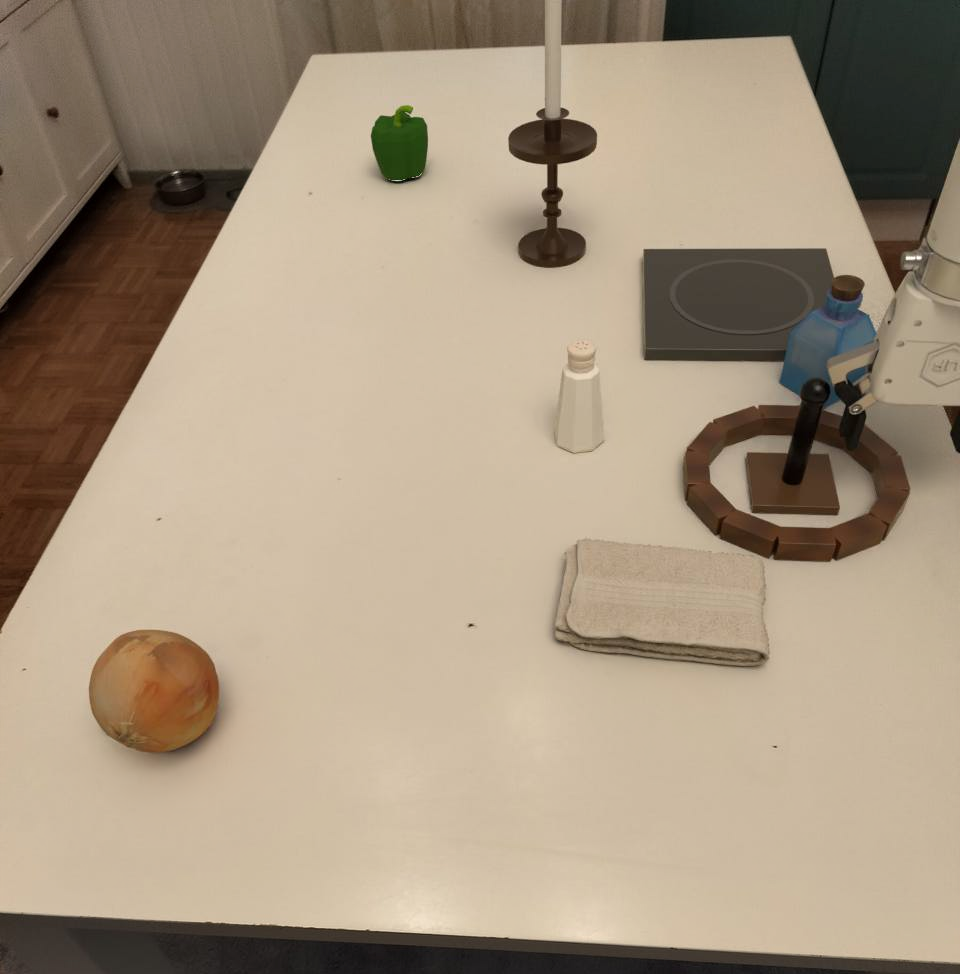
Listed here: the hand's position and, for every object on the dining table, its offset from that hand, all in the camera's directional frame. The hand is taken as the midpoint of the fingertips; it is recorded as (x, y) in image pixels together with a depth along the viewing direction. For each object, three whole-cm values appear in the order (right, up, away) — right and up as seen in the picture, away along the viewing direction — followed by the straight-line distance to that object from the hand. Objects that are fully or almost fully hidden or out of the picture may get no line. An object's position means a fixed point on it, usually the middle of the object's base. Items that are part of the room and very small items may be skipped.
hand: (902, 442), depth 85 cm
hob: (-8, +22, +26) cm, 36 cm away
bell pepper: (-51, +53, +55) cm, 92 cm away
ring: (-9, -3, +5) cm, 11 cm away
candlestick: (-30, +34, +38) cm, 59 cm away
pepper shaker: (-29, +3, +12) cm, 31 cm away
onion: (-65, -26, -9) cm, 70 cm away
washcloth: (-23, -16, -4) cm, 28 cm away
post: (-9, -3, +5) cm, 11 cm away
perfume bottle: (-2, +9, +16) cm, 18 cm away
